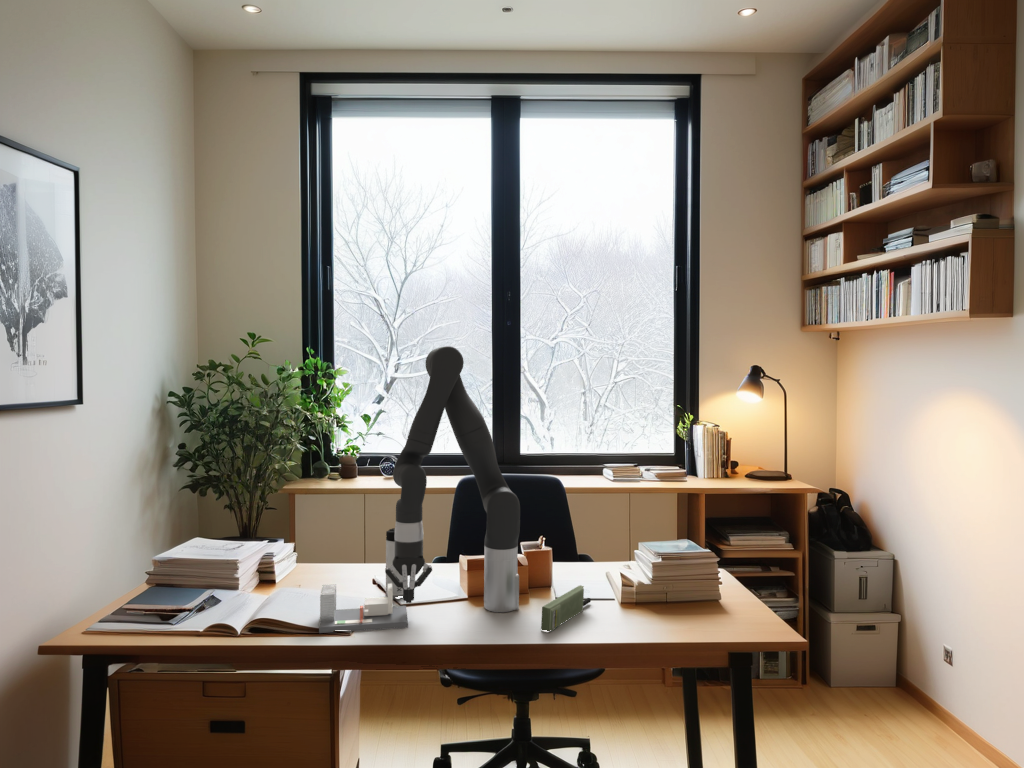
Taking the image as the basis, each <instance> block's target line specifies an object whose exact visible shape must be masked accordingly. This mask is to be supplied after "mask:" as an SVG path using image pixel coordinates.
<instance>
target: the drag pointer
mask: <svg viewBox="0 0 1024 768" xmlns="http://www.w3.org/2000/svg"><path fill="white" fill-rule="evenodd" d="M359 608H360V623H362V622H363V608H364V605H360V606H359Z"/></svg>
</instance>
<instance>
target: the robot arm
mask: <svg viewBox="0 0 1024 768" xmlns="http://www.w3.org/2000/svg"><path fill="white" fill-rule="evenodd" d="M464 362H465V361H464V357H463V354H462V353H461V351H460V350H459V349H457V348H456V347H453V346H452V345H451V346H450V345H445V346H444V345H443V346H440V347H437V348H434V349H432V350H431V351H429V353H428V354H427V356H426V358H425V369H426V372H427V374H428V376H429V381H428V385H427V389H426V391H425V394H424V397H423V399H422V401H421V403H420V406H419V408H417V412H416V414H415V415H414V418H413V421H412V423H411V427H410V430H409V432H408V434H407V435H408V436H407V439H406V442H405V445H404V447H403V448H402V450H401V451H400V454H399V456H398V458H397V460H396V461H395V464H394V467H393V471H392V479H393V481H394V483H395V485H397V486H399V487H400V488H401V489H400V490H401V492H400V498H399V499H397V501H396V504H395V505H396V506H395V525H394V528H395V535H394V537H395V557H394V560H393V564H391V565H390V566H389V567H386V566H385V569H384V571H385V572H384V573H385V575H386V574H387V575H388V576H389V578H390V579H391V580H392V581H393V583H394V584H395V585H396V586H397V587H398V588H399V587H401V588H403V598H402V599H403V601H404V602H405V603H406V604H411V603H412V602H413V601H414V600H415V589H416V588H418V587H421V586H422V584H423V583H424V582H425V581H426V579H427V578H428V577H429V575H430V574H431V572H432V571H433V567H432V565H431V564H428V563H426V560H425V558H424V537H425V536H424V535H425V534H424V525H423V504H424V499H425V494H426V491H427V490H426V489H427V483H428V481H427V478H428V477H427V474H426V471H425V469H424V467H422V466H421V465H422V463H423V459H424V458H425V457H428V456H429V455H430V454H431V452H432V449H433V446H434V443H435V440H436V435H437V433H438V430H439V426H440V423H441V421H442V416H443V413H444V410H445V412H446V416H447V420H449V421H448V422H449V424H450V426H451V429H452V431H453V434H454V437H455V440H456V442H457V444H458V447H459V449H460V451H461V453H462V456H463V457H464V460H465V461H466V463H467V465H468V467H469V468H470V470H471V472H472V474H473V477H474V479H475V482H476V484H477V487H478V490H479V494H480V497H481V502H482V506H483V508H484V511H485V513H486V531H485V535H484V552H483V553H484V559H483V560H484V566H483V568H484V571H483V572H484V573H483V579H484V580H483V581H484V582H483V586H484V587H483V608H484V609H485V610H486V611H489V612H493V613H508V612H512V611H515V610H520V605H519V604H520V598H519V597H520V575H519V573H518V549H519V548H518V547H519V546H518V543H519V537H520V533H521V532H520V531H521V530H520V527H521V505H520V503H521V502H520V500H519V498H518V496H517V494H516V493H514V492H513V491H512V490H511V489H510V487H509V485H508V483H507V482H506V480H505V478H504V476H503V474H502V472H501V470H500V468H499V467H500V466H499V464H498V460H497V459H498V458H497V454H496V449H495V445H494V442H493V438H492V435H491V433H490V430H489V427H488V425H487V422H486V420H485V419H484V416H483V414H482V413H481V411H480V410H479V408H478V406H476V404H475V402H474V401H473V400H472V399H471V397H470V395H469V394H468V391H467V390H466V387H465V386H464V382H463V380H462V377H461V373H462V370H463V369H464V364H465V363H464ZM394 567H395V569H396V570H397V571H398V573H399V574H400V575H401V576H402V578H403V582H402V581H400V580H399V579H398V578H397V576H396V575H395V574H394V572H395V570H394ZM421 570H422V572H421ZM419 572H421V573H420V575H419V576H418V577H417V579H416V576H417V575H418V574H419ZM407 576H409V582H407ZM408 583H409V584H408Z"/></svg>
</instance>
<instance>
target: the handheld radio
mask: <svg viewBox="0 0 1024 768" xmlns="http://www.w3.org/2000/svg"><path fill="white" fill-rule="evenodd" d="M584 587H585V586H584V585H581V584H580V585H577V586H576V587H574V588H573V589H571V590H569V591H567V592H565V593H564V594H562V595H561V596H559V597H557V598H555V599H553V600H552V601H550V602H547V603H546V604H544V605H543V606H541V607H542V608H541V624H540V625H541V627H540V630H541V629H542V630H547V631H550V630H552V631H554V630H555V629H557V628H558V627H560V626H561V625H560V624H561V623H563V622H565V621H566V620H568V619H569V618H571V617H572V618H574V617H575V616H577V615H578V613H579V612H580V613H582V612H583V611H582V610H584V606H586V605H588V604H589V603H591V601H592V599H591V598H590V597H587V598H585V597H584V596H585V594H584V593H585V589H584ZM584 598H585V599H584ZM581 611H582V612H581ZM580 613H579V614H580ZM576 614H577V615H576ZM574 615H575V616H574ZM573 616H574V617H573ZM572 618H571V619H572ZM569 620H570V619H569ZM569 620H568V621H569ZM566 622H567V621H566ZM566 622H565V623H566ZM563 624H564V623H563ZM559 625H560V626H559ZM557 626H558V627H557ZM556 627H557V628H556ZM554 628H555V629H554ZM553 629H554V630H553Z"/></svg>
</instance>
